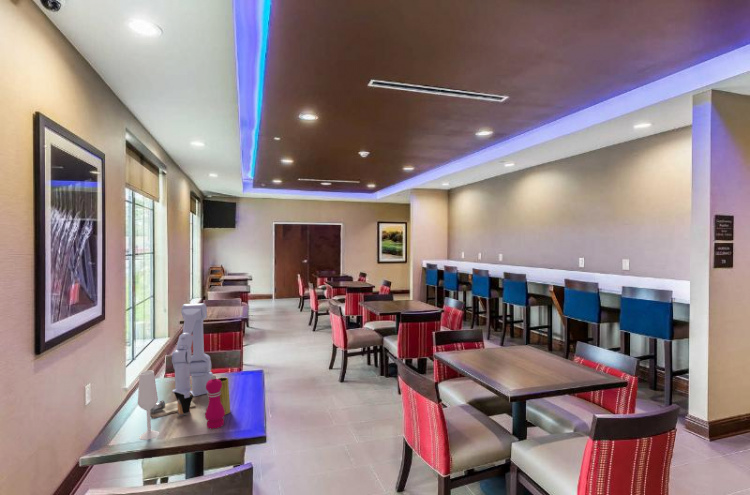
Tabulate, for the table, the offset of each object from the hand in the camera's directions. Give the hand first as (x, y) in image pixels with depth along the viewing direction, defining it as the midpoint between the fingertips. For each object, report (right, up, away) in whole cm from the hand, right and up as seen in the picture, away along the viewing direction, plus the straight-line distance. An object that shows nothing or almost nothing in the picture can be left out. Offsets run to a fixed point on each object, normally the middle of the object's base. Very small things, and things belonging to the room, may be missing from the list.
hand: (183, 409), depth 175 cm
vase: (+17, -1, 0) cm, 17 cm away
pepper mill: (+18, -2, -12) cm, 22 cm away
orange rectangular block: (0, -2, 0) cm, 2 cm away
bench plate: (-8, -2, +5) cm, 10 cm away
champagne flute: (-4, -3, -19) cm, 20 cm away
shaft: (-11, -2, +1) cm, 12 cm away
